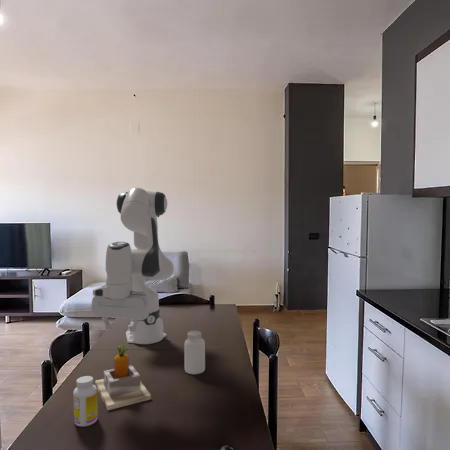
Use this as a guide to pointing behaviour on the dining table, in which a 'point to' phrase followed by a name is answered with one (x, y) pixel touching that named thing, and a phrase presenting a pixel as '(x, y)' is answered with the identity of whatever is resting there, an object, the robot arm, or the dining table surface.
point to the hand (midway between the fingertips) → (120, 330)
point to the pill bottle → (194, 353)
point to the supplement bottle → (85, 402)
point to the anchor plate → (121, 389)
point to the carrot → (121, 363)
